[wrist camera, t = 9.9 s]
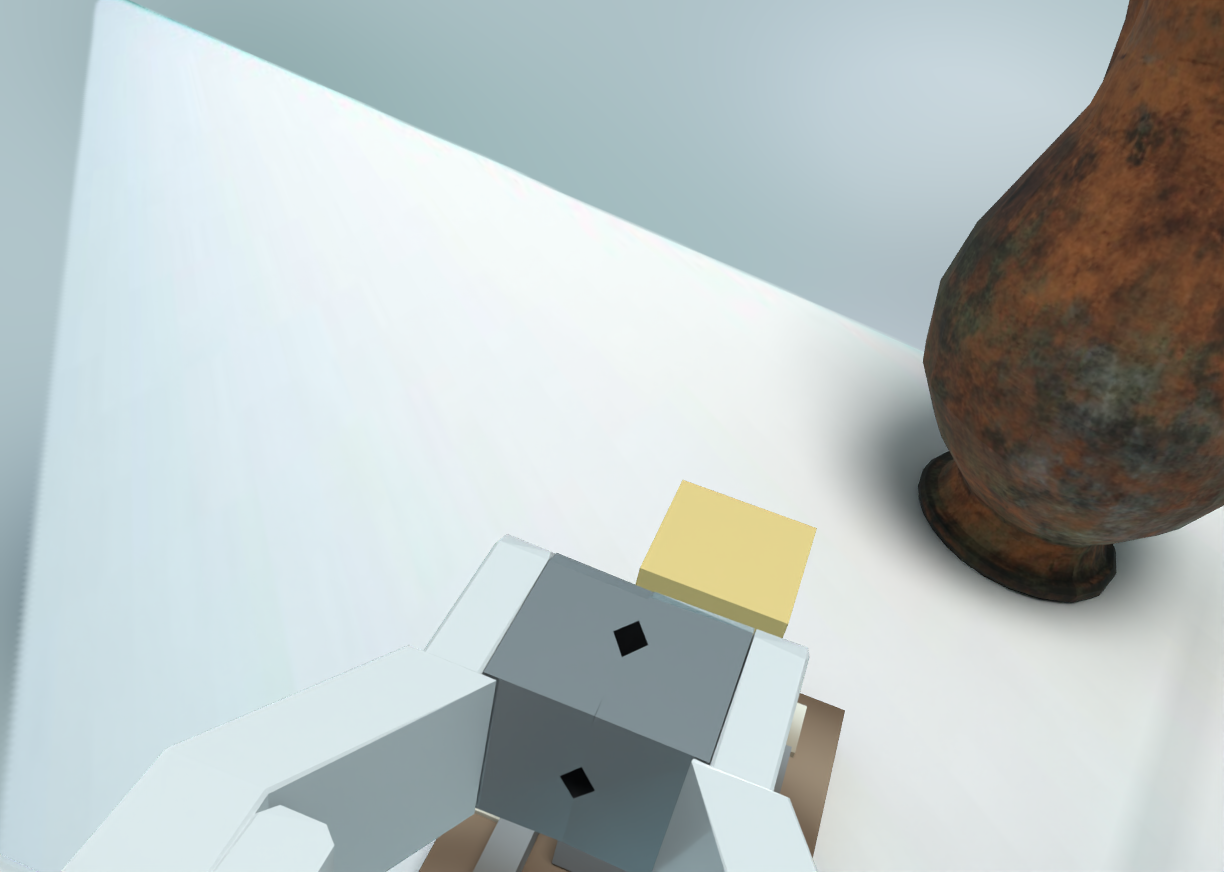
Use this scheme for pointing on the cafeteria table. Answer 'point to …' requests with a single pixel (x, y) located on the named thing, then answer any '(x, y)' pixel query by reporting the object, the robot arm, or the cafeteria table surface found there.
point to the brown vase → (1091, 327)
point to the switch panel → (522, 858)
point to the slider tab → (719, 577)
